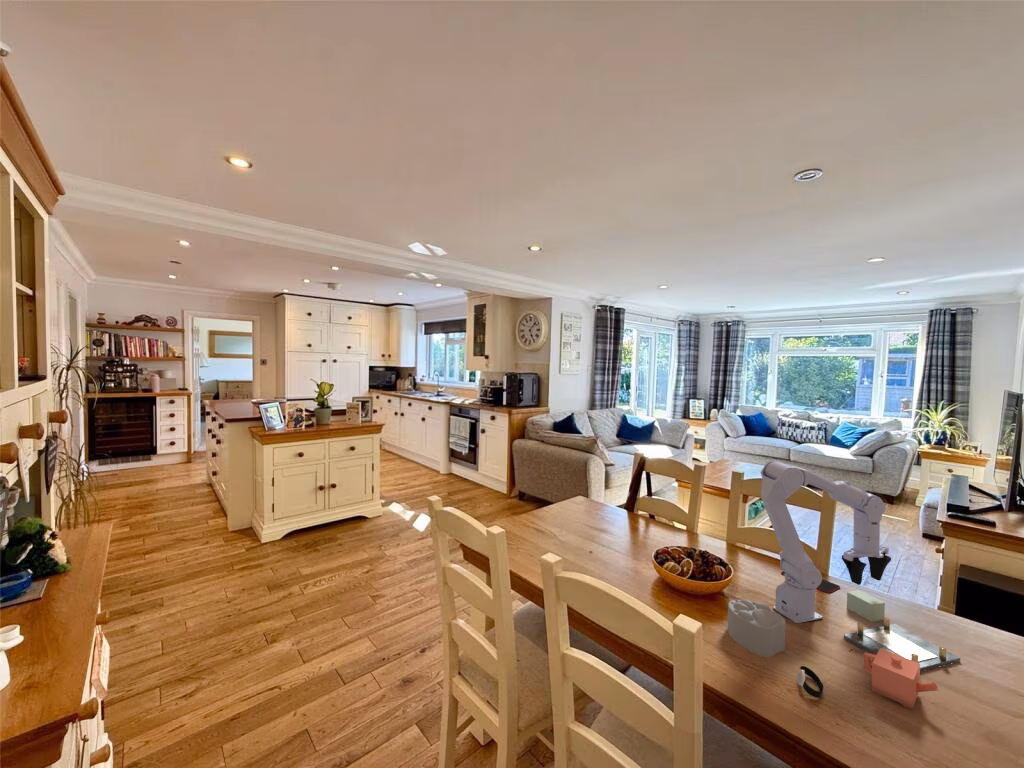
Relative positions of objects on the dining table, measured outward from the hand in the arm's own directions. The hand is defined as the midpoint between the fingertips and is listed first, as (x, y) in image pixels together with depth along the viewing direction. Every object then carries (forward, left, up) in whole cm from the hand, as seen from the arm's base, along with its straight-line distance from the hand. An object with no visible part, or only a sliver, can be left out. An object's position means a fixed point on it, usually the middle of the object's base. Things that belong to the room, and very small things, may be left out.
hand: (866, 581), depth 122 cm
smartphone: (+2, +19, -10) cm, 22 cm away
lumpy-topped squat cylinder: (-40, -1, -10) cm, 41 cm away
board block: (0, 0, -10) cm, 10 cm away
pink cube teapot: (-25, -25, -10) cm, 37 cm away
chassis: (-8, -14, -10) cm, 19 cm away
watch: (-41, -18, -10) cm, 46 cm away
